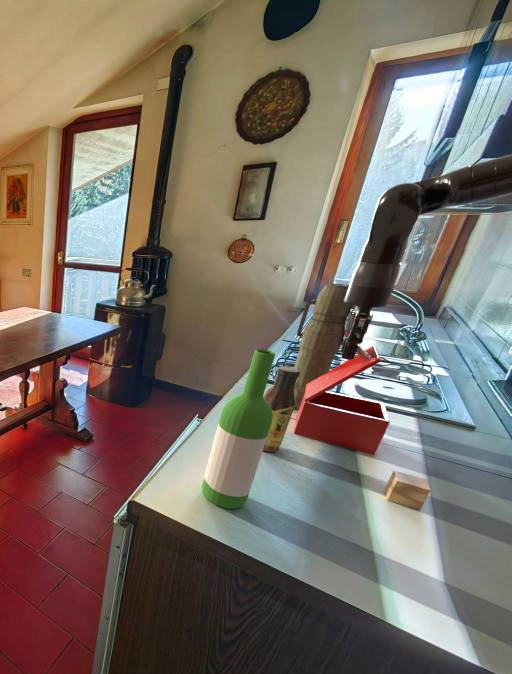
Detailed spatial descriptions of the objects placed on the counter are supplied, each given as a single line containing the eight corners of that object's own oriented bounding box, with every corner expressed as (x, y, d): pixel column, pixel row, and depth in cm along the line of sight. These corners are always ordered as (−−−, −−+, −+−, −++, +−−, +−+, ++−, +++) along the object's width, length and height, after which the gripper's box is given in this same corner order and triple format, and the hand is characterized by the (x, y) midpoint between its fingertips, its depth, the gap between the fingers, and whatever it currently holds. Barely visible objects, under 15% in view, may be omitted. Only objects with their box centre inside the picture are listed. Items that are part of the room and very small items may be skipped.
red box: (370, 433, 100) (383, 403, 96) (374, 455, 91) (390, 421, 87) (296, 415, 109) (306, 387, 105) (293, 433, 99) (304, 402, 96)
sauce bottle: (272, 456, 89) (299, 376, 82) (243, 444, 94) (267, 368, 86) (283, 447, 93) (311, 370, 85) (255, 436, 98) (279, 362, 90)
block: (415, 497, 77) (426, 478, 75) (419, 510, 73) (430, 490, 71) (384, 488, 79) (393, 469, 77) (387, 500, 76) (396, 480, 74)
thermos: (321, 416, 108) (369, 289, 95) (272, 403, 116) (310, 283, 102) (326, 407, 114) (372, 285, 101) (279, 394, 122) (316, 280, 108)
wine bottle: (231, 485, 79) (273, 344, 68) (254, 511, 72) (305, 359, 61) (193, 484, 79) (229, 344, 68) (212, 511, 72) (256, 359, 60)
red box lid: (376, 347, 94) (359, 332, 95) (381, 361, 85) (363, 344, 86) (308, 386, 105) (294, 372, 106) (306, 402, 96) (290, 386, 97)
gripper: (399, 289, 80) (369, 367, 86) (390, 281, 90) (365, 351, 96) (351, 286, 84) (326, 360, 90) (348, 279, 94) (326, 346, 101)
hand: (346, 355), depth 93 cm, fingers closed on red box lid, 5 cm apart
